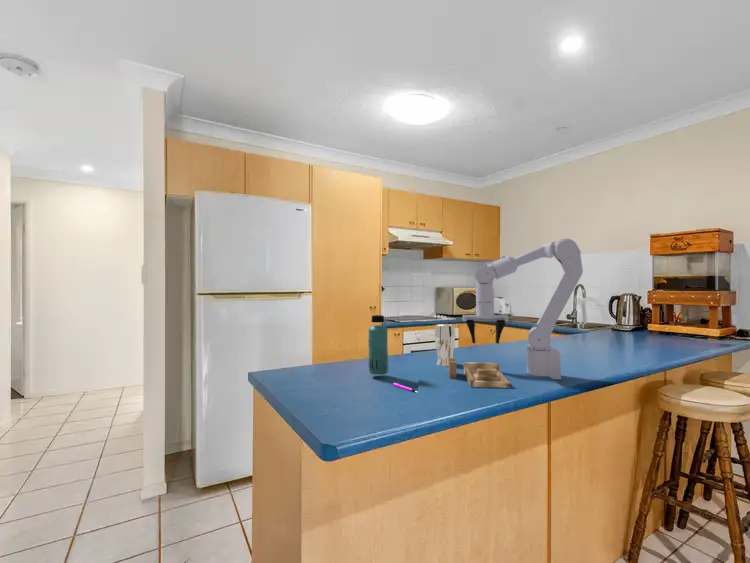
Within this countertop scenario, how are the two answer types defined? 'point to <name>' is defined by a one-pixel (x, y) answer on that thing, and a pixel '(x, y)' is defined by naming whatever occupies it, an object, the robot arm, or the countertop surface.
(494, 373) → the offcut top
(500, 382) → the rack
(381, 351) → the beverage bottle
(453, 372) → the tall board
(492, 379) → the offcut low
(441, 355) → the beer glass
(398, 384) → the pink paintbrush
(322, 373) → the countertop surface
